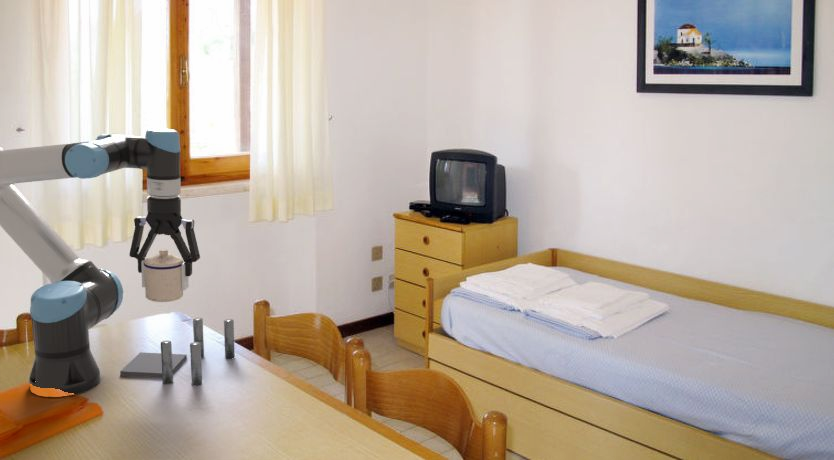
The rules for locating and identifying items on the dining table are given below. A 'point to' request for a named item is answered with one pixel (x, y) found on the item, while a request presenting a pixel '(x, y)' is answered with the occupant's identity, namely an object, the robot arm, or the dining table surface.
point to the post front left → (166, 362)
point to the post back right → (229, 338)
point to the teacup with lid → (163, 277)
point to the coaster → (150, 365)
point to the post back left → (198, 333)
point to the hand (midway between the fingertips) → (165, 287)
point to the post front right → (196, 363)
